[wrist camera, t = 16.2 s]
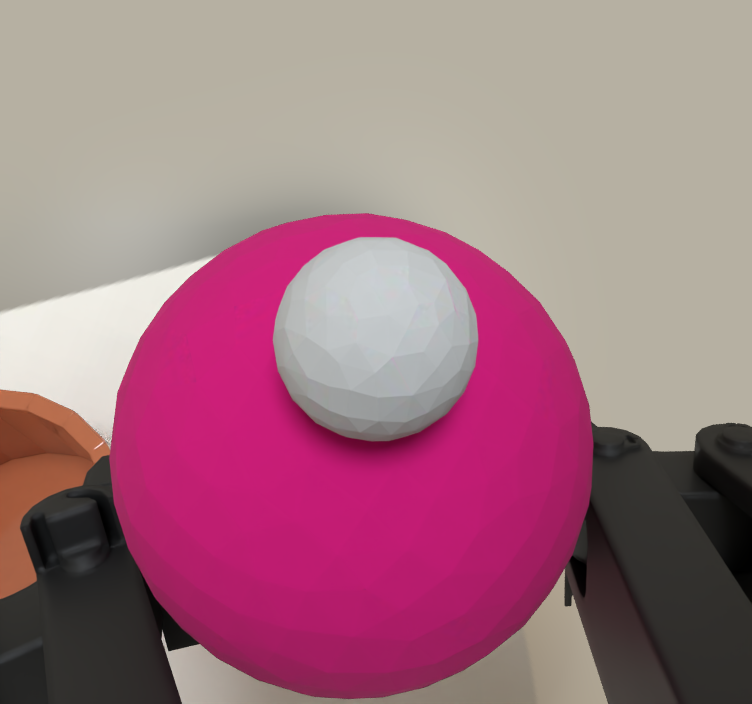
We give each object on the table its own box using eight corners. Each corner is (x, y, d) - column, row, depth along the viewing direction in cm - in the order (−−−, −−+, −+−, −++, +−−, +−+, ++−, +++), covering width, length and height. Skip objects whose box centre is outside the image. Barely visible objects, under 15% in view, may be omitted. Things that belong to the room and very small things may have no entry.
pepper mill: (176, 590, 23) (-380, 348, 4) (314, 428, 25) (318, -140, 7) (345, 738, 21) (537, 1254, 3) (472, 551, 24) (976, 245, 6)
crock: (207, 608, 29) (178, 597, 23) (-49, 759, 26) (-164, 795, 20) (108, 402, 32) (59, 341, 26) (-130, 516, 29) (-252, 479, 23)
